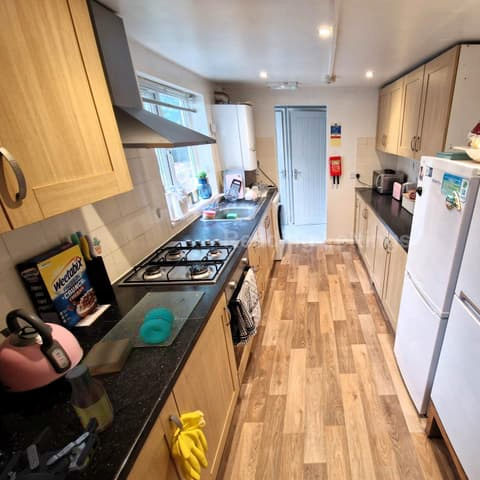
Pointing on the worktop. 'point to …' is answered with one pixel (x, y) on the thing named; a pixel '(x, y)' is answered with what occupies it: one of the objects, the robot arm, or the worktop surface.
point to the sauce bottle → (89, 398)
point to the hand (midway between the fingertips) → (72, 424)
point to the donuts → (157, 325)
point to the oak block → (108, 356)
